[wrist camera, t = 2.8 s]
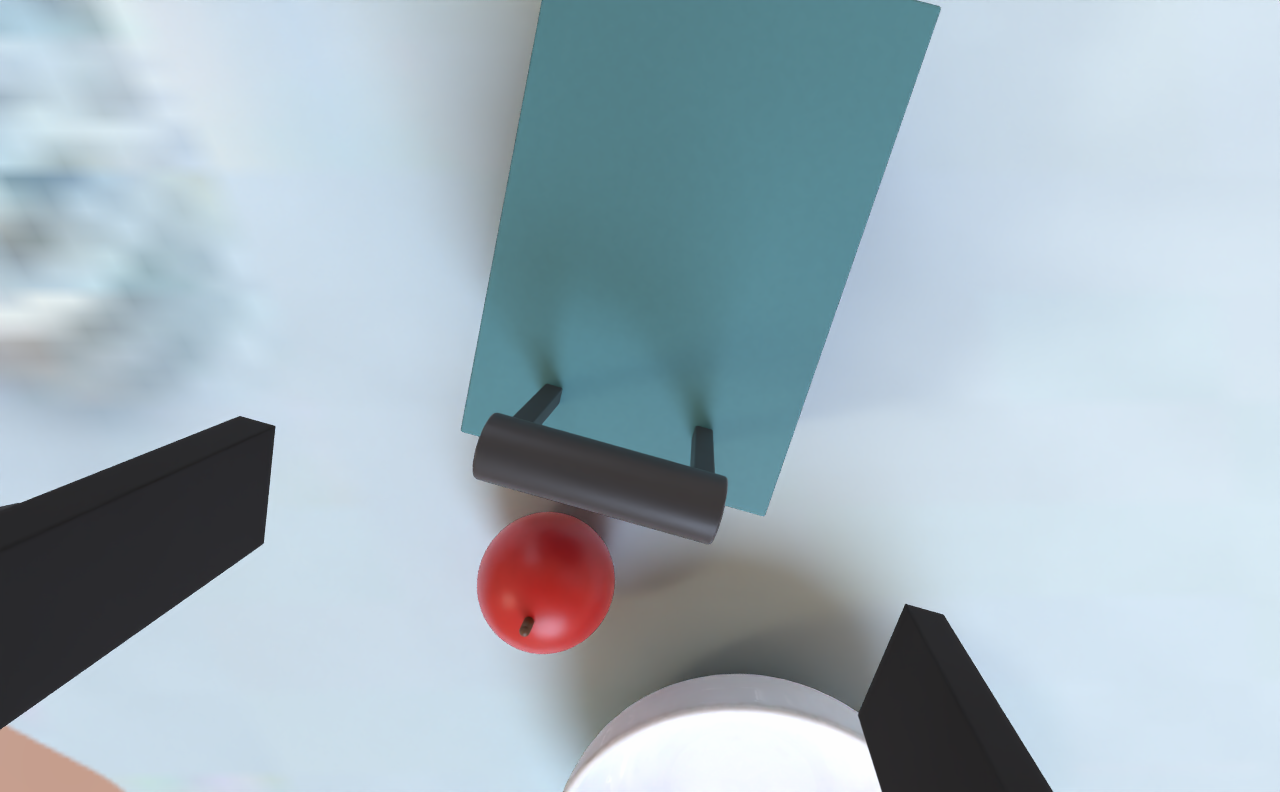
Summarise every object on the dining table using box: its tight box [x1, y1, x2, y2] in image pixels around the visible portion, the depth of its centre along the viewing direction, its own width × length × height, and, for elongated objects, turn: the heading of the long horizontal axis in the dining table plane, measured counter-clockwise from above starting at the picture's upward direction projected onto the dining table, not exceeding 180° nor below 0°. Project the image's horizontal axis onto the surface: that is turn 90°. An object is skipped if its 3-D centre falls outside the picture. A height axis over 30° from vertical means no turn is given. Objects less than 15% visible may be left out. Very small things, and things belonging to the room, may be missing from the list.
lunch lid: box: [461, 0, 941, 544], centre depth 19 cm, size 18×13×8 cm
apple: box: [477, 512, 615, 654], centre depth 32 cm, size 7×7×8 cm
